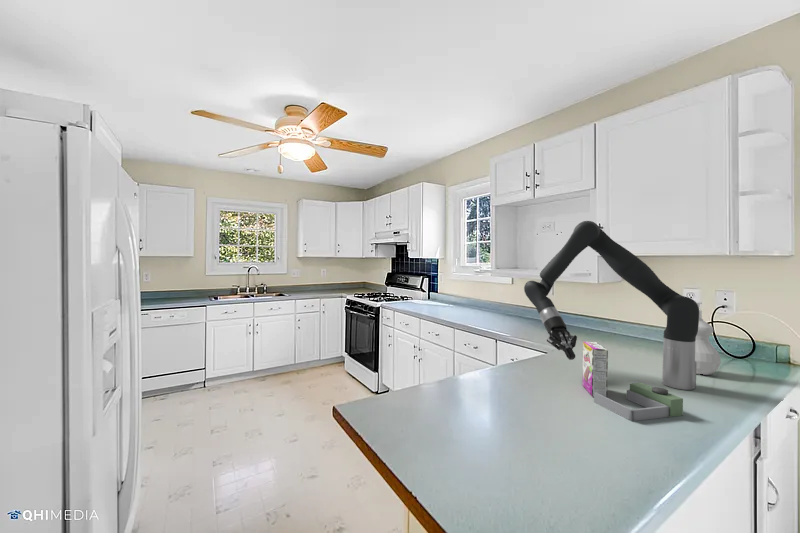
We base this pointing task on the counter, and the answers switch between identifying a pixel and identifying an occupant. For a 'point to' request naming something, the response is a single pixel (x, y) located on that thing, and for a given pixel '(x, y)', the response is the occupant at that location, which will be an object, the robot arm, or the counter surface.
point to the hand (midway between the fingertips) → (572, 358)
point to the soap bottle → (705, 349)
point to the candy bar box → (595, 368)
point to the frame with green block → (645, 403)
